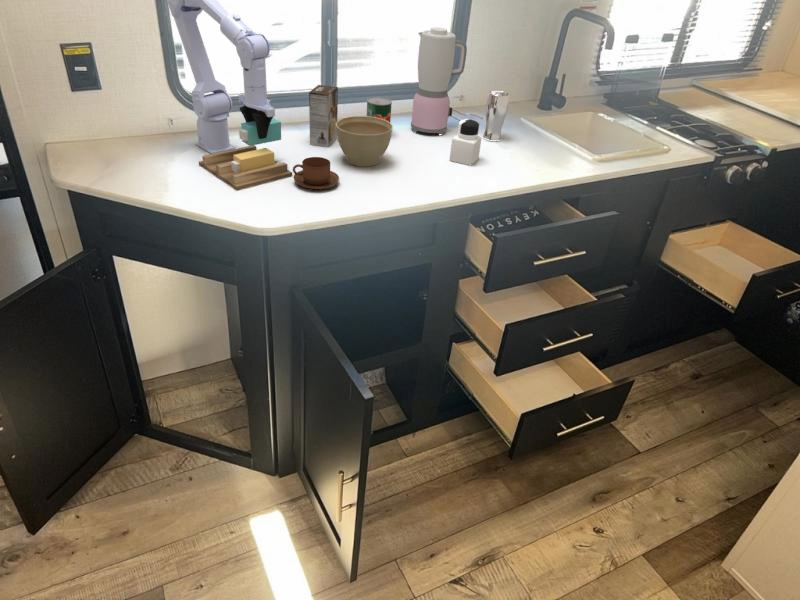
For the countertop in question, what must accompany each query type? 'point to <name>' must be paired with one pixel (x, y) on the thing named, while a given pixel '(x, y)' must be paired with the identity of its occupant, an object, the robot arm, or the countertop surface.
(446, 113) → the blender
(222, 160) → the comb board
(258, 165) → the ochre plug block
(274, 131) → the teal plug block
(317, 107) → the coffee box
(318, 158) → the cup and saucer
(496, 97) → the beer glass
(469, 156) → the medicine bottle
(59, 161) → the countertop surface
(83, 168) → the countertop surface
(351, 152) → the planter bowl
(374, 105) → the canned tomato
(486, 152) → the countertop surface
